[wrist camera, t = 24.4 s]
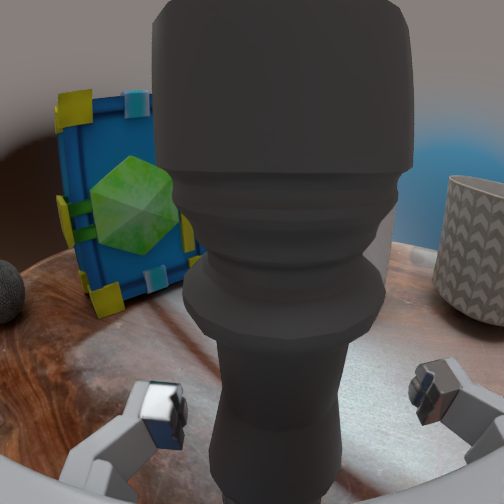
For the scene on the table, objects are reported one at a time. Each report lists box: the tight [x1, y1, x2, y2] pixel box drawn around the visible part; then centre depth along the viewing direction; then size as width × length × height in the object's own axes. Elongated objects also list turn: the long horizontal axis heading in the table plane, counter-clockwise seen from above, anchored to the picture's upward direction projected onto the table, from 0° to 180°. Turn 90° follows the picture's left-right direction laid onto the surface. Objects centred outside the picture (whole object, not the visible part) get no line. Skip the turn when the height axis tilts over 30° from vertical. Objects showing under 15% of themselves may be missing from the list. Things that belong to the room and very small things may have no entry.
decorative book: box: [54, 89, 207, 319], centre depth 41 cm, size 14×23×30 cm, turn 130°
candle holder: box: [152, 0, 414, 504], centre depth 10 cm, size 6×6×25 cm
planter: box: [432, 175, 504, 326], centre depth 32 cm, size 19×19×18 cm
